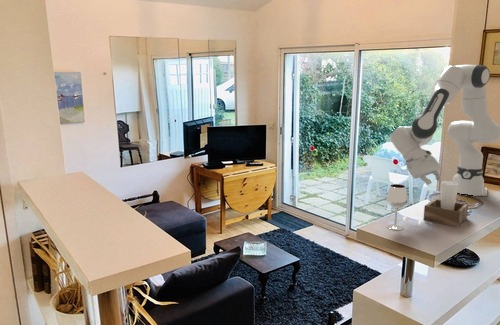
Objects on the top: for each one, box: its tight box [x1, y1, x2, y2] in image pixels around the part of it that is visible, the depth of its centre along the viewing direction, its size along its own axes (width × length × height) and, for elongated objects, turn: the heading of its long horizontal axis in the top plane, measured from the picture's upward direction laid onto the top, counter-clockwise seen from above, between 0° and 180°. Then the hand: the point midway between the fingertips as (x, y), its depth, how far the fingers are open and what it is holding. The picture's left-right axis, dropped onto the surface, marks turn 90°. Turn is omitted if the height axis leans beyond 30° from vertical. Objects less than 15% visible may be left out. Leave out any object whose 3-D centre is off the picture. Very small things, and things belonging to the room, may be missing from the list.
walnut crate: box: [422, 198, 469, 228], centre depth 173 cm, size 14×14×6 cm
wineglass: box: [385, 183, 409, 231], centre depth 162 cm, size 8×8×18 cm
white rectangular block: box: [439, 180, 458, 210], centre depth 174 cm, size 7×7×15 cm
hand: (435, 182), depth 175 cm, fingers open, 8 cm apart
